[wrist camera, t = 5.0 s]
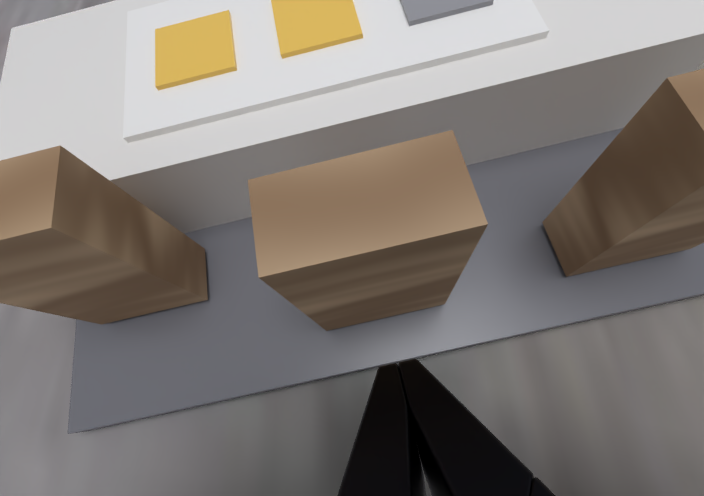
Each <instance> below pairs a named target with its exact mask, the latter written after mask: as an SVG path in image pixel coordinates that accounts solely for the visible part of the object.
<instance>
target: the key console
mask: <svg viewBox="0 0 704 496" xmlns="http://www.w3.org/2000/svg"><path fill="white" fill-rule="evenodd" d="M703 61H704V0H115V1H112V2H108V3H104V4H100V5H97V6H93V7H89V8H85V9H82V10H78V11H74V12H70V13H67V14H63V15H59V16H55V17H52V18H48V19H44V20H40V21H37V22H33V23H29V24H25V25H22V26H18V27H14V28H12V29H11V34H10V39H9V43H8V48H7V53H6V58H5V63H4V68H3V73H2V78H1V83H0V161H1V160H5V159H8V158H12V157H16V156H20V155H24V154H28V153H32V152H36V151H40V150H44V149H48V148H52V147H56V146H60V145H61V146H62V147H63V148H65V149H66V150H68V151H69V152H70V153H72V154H73V155H75V156H76V157H77V158H79V159H80V160H82V161H83V162H84V163H86V164H87V165H89V166H90V167H91V168H93V169H94V170H96V171H97V172H98V173H100V174H101V175H103V176H104V177H105V178H107V179H108V180H110V181H111V182H112V183H114V184H115V185H117V186H118V187H119V188H121V189H122V190H124V191H125V192H126V193H128V194H129V195H131V196H132V197H133V198H135V199H136V200H137V201H139V202H140V203H142V204H143V205H144V206H146V207H147V208H149V209H150V210H151V211H153V212H154V213H156V214H157V215H158V216H160V217H161V218H163V219H164V220H165V221H167V222H168V223H170V224H171V225H172V226H174V227H175V228H177V229H178V230H179V231H181V232H182V233H184V234H185V235H186V236H188V237H189V238H191V239H192V240H193V241H195V242H196V243H198V244H199V245H200V246H202V247H203V248H204V249H205V260H206V277H207V295H208V300H205V301H201V302H196V303H192V304H188V305H183V306H179V307H175V308H170V309H166V310H162V311H157V312H153V313H149V314H145V315H140V316H136V317H132V318H127V319H123V320H119V321H114V322H110V323H106V324H97V323H92V322H87V321H83V320H78V319H76V332H75V345H74V358H73V371H72V384H71V397H70V410H69V423H68V434H71V433H78V432H85V431H90V430H95V429H99V428H104V427H108V426H113V425H117V424H122V423H126V422H131V421H135V420H140V419H144V418H149V417H153V416H158V415H163V414H167V413H172V412H176V411H181V410H185V409H190V408H194V407H199V406H203V405H208V404H212V403H217V402H221V401H226V400H230V399H235V398H240V397H244V396H249V395H253V394H258V393H262V392H267V391H271V390H276V389H280V388H285V387H289V386H294V385H298V384H303V383H307V382H312V381H317V380H321V379H326V378H330V377H335V376H339V375H344V374H348V373H353V372H357V371H362V370H366V369H371V368H375V367H380V366H384V365H388V364H393V363H398V362H402V361H406V360H411V359H416V358H421V357H425V356H430V355H434V354H439V353H443V352H448V351H452V350H457V349H461V348H466V347H471V346H475V345H480V344H484V343H489V342H493V341H498V340H502V339H507V338H511V337H516V336H520V335H525V334H529V333H534V332H538V331H543V330H548V329H552V328H557V327H561V326H566V325H570V324H575V323H579V322H584V321H588V320H593V319H597V318H602V317H606V316H611V315H615V314H620V313H625V312H629V311H634V310H638V309H643V308H647V307H652V306H656V305H661V304H665V303H670V302H674V301H679V300H683V299H688V298H692V297H697V296H701V295H704V243H702V244H700V245H698V246H695V247H693V248H691V249H688V250H683V251H679V252H674V253H670V254H665V255H661V256H657V257H652V258H648V259H643V260H639V261H634V262H630V263H626V264H621V265H617V266H612V267H608V268H603V269H599V270H595V271H590V272H586V273H581V274H577V275H572V276H568V277H566V275H565V273H564V271H563V268H562V266H561V264H560V262H559V259H558V257H557V255H556V252H555V250H554V248H553V246H552V243H551V241H550V239H549V236H548V234H547V232H546V230H545V227H544V225H543V223H542V222H543V221H544V220H545V219H546V218H547V216H548V215H549V214H550V213H551V212H552V211H553V209H554V208H555V207H556V206H557V205H558V204H559V202H560V201H561V200H562V199H563V198H564V197H565V196H566V194H567V193H568V192H569V191H570V190H571V189H572V187H573V186H574V185H575V184H576V183H577V182H578V180H579V179H580V178H581V177H582V176H583V175H584V173H585V172H586V171H587V170H588V169H589V168H590V167H591V165H592V164H593V163H594V162H595V161H596V160H597V158H598V157H599V156H600V155H601V154H602V153H603V151H604V150H605V149H606V148H607V147H608V146H609V144H610V143H611V142H612V141H613V140H614V139H615V138H616V136H617V135H618V134H619V133H620V132H621V131H622V129H623V128H624V127H625V126H626V125H627V124H628V122H629V121H630V120H631V119H632V118H633V117H634V115H635V114H636V113H637V112H638V111H639V110H640V109H641V107H642V106H643V105H644V104H645V103H646V102H647V100H648V99H649V98H650V97H651V96H652V95H653V93H654V92H655V91H656V90H657V89H658V88H659V86H660V85H661V84H662V83H663V82H664V81H665V80H666V78H668V77H672V76H676V75H680V74H684V73H688V72H692V71H695V70H696V69H697V68H698V67H699V66H700V65H701V63H702V62H703ZM450 130H453V132H454V135H455V137H456V140H457V143H458V145H459V148H460V151H461V153H462V156H463V159H464V161H465V164H466V167H467V169H468V172H469V175H470V177H471V180H472V183H473V185H474V188H475V191H476V193H477V196H478V198H479V201H480V204H481V206H482V209H483V212H484V214H485V217H486V220H487V222H488V225H487V227H486V229H485V231H484V233H483V235H482V236H481V238H480V240H479V242H478V244H477V246H476V247H475V249H474V251H473V253H472V255H471V257H470V259H469V260H468V262H467V264H466V266H465V268H464V270H463V272H462V273H461V275H460V277H459V279H458V281H457V283H456V284H455V286H454V288H453V290H452V292H451V294H450V296H449V297H448V299H447V301H446V303H445V304H444V305H439V306H435V307H430V308H426V309H421V310H417V311H413V312H408V313H404V314H399V315H395V316H390V317H386V318H382V319H377V320H373V321H368V322H364V323H359V324H355V325H351V326H346V327H342V328H337V329H333V330H328V331H326V330H325V329H323V328H322V327H321V326H320V325H318V324H317V323H316V322H314V321H313V320H312V319H311V318H309V317H308V316H307V315H306V314H304V313H303V312H302V311H300V310H299V309H298V308H297V307H295V306H294V305H293V304H292V303H290V302H289V301H288V300H286V299H285V298H284V297H283V296H281V295H280V294H279V293H278V292H276V291H275V290H274V289H272V288H271V287H270V286H269V285H267V284H266V283H265V282H264V281H262V280H261V279H260V278H259V277H258V268H257V259H256V250H255V241H254V232H253V223H252V215H251V206H250V197H249V188H248V180H249V179H253V178H257V177H261V176H266V175H270V174H274V173H278V172H282V171H286V170H290V169H294V168H298V167H302V166H307V165H311V164H315V163H319V162H323V161H327V160H331V159H335V158H339V157H343V156H347V155H352V154H356V153H360V152H364V151H368V150H372V149H376V148H380V147H384V146H388V145H393V144H397V143H401V142H405V141H409V140H413V139H417V138H421V137H425V136H429V135H434V134H438V133H442V132H446V131H450Z"/></svg>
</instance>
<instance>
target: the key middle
mask: <svg viewBox="0 0 704 496" xmlns="http://www.w3.org/2000/svg"><path fill="white" fill-rule="evenodd" d="M248 188H249V197H250V206H251V215H252V223H253V232H254V241H255V250H256V259H257V268H258V277H259V278H260V279H261V280H262V281H264V282H265V283H266V284H267V285H269V286H270V287H271V288H272V289H274V290H275V291H276V292H278V293H279V294H280V295H281V296H283V297H284V298H285V299H286V300H288V301H289V302H290V303H292V304H293V305H294V306H295V307H297V308H298V309H299V310H300V311H302V312H303V313H304V314H306V315H307V316H308V317H309V318H311V319H312V320H313V321H314V322H316V323H317V324H318V325H320V326H321V327H322V328H323V329H325V330H326V331H328V330H333V329H337V328H342V327H346V326H351V325H355V324H359V323H364V322H368V321H373V320H377V319H382V318H386V317H390V316H395V315H399V314H404V313H408V312H413V311H417V310H421V309H426V308H430V307H435V306H439V305H444V304H445V303H446V301H447V299H448V297H449V296H450V294H451V292H452V290H453V288H454V286H455V284H456V283H457V281H458V279H459V277H460V275H461V273H462V272H463V270H464V268H465V266H466V264H467V262H468V260H469V259H470V257H471V255H472V253H473V251H474V249H475V247H476V246H477V244H478V242H479V240H480V238H481V236H482V235H483V233H484V231H485V229H486V227H487V225H488V222H487V220H486V217H485V214H484V212H483V209H482V206H481V204H480V201H479V198H478V196H477V193H476V191H475V188H474V185H473V183H472V180H471V177H470V175H469V172H468V169H467V167H466V164H465V161H464V159H463V156H462V153H461V151H460V148H459V145H458V143H457V140H456V137H455V135H454V132H453V130H450V131H446V132H442V133H438V134H434V135H429V136H425V137H421V138H417V139H413V140H409V141H405V142H401V143H397V144H393V145H388V146H384V147H380V148H376V149H372V150H368V151H364V152H360V153H356V154H352V155H347V156H343V157H339V158H335V159H331V160H327V161H323V162H319V163H315V164H311V165H307V166H302V167H298V168H294V169H290V170H286V171H282V172H278V173H274V174H270V175H266V176H261V177H257V178H253V179H249V180H248Z"/></svg>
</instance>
